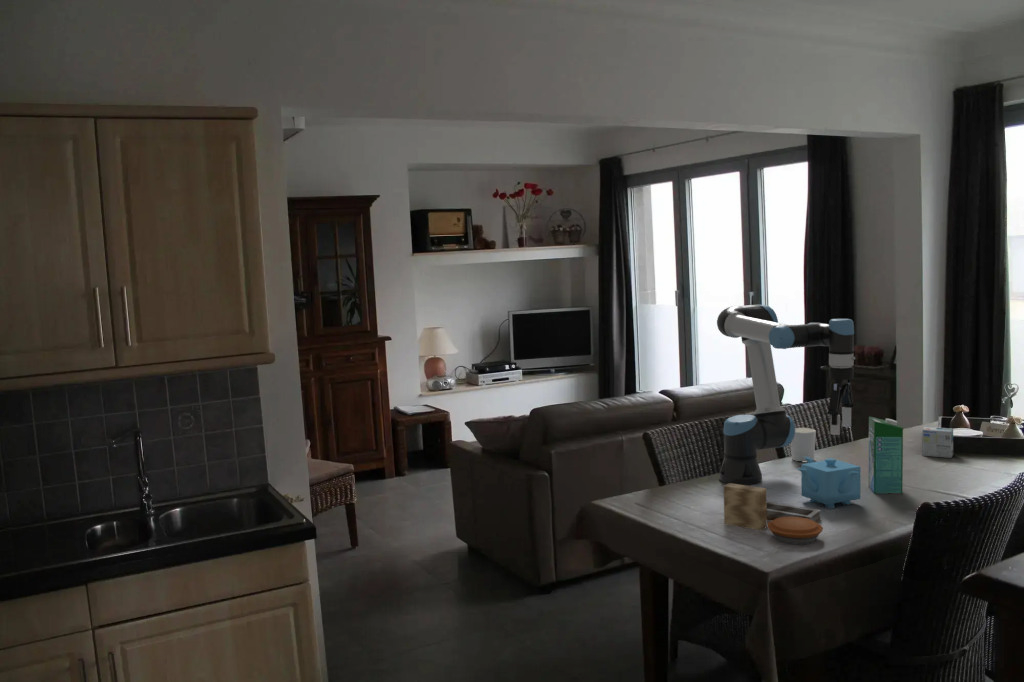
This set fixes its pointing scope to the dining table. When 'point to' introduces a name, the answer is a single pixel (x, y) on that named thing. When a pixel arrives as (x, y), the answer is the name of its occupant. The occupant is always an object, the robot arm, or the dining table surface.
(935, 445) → the light bulb box
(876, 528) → the dining table surface
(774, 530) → the pie
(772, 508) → the tray
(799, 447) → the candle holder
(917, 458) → the dining table surface
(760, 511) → the beige square slab
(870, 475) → the milk carton
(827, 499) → the blue lidded box
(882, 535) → the dining table surface
